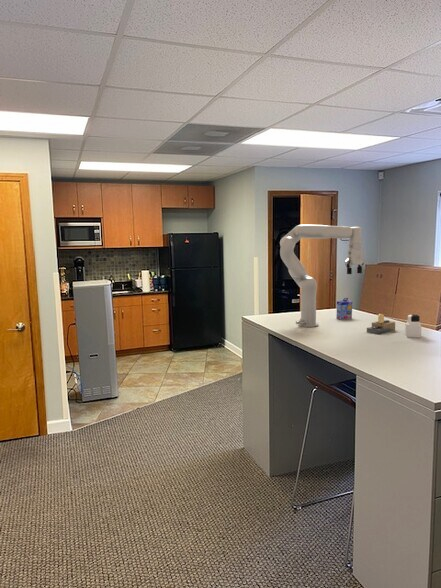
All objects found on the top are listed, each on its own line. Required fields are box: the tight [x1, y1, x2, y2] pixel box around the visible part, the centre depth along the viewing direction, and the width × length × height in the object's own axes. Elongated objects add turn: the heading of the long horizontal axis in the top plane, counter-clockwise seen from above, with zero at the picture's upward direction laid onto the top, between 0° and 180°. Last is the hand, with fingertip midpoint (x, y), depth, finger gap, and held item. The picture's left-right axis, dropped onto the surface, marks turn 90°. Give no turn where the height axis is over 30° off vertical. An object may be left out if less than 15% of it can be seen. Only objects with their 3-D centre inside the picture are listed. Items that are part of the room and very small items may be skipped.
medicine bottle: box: [404, 314, 422, 339], centre depth 235 cm, size 7×7×12 cm
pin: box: [377, 313, 385, 324], centre depth 250 cm, size 3×3×10 cm
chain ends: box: [366, 319, 396, 335], centre depth 250 cm, size 16×8×6 cm, turn 125°
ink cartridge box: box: [335, 297, 353, 321], centre depth 291 cm, size 10×6×14 cm, turn 115°
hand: (354, 273), depth 268 cm, fingers open, 9 cm apart
